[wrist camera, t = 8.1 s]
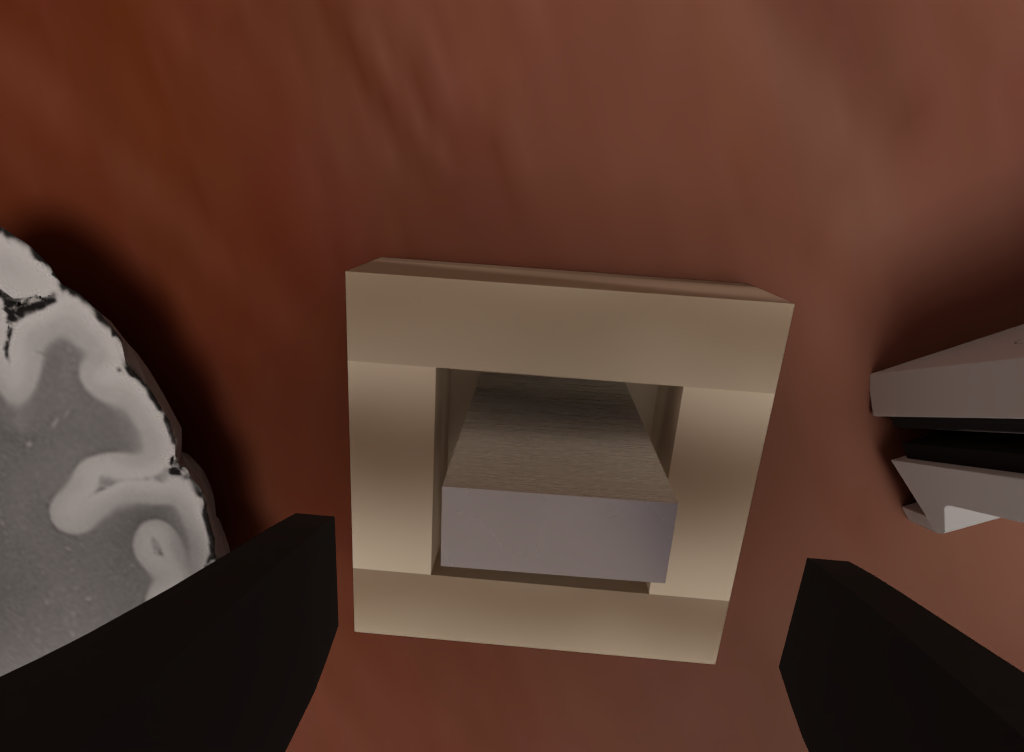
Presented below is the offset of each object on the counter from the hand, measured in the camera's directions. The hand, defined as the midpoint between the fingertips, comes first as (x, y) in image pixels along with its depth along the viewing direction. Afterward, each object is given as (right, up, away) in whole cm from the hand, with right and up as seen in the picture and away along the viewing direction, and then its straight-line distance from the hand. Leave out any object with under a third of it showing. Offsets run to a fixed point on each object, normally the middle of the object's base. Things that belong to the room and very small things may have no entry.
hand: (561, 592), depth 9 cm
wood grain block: (0, +1, +8) cm, 8 cm away
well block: (0, +1, +8) cm, 8 cm away
